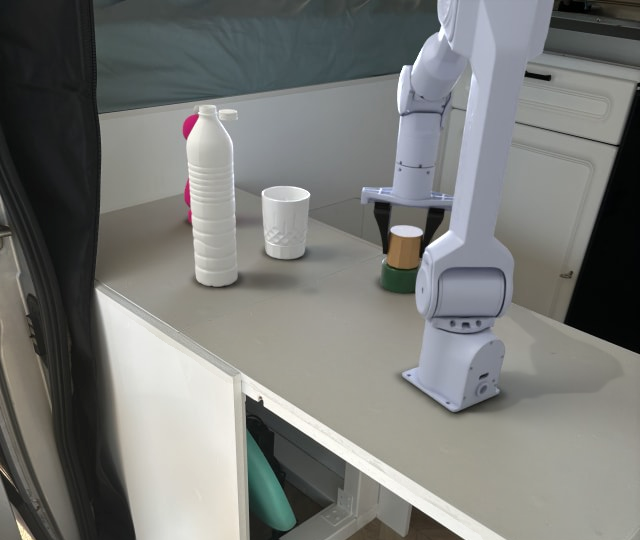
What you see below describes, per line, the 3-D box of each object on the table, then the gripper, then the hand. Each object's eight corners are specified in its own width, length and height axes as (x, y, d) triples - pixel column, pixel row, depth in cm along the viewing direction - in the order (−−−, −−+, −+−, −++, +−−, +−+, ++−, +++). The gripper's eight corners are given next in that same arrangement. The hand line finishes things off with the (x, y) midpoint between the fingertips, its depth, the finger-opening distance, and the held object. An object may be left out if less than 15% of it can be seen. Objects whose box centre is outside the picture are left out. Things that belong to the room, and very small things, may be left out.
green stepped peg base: (428, 287, 104) (434, 248, 100) (397, 296, 101) (402, 256, 97) (402, 273, 108) (407, 234, 104) (372, 281, 105) (375, 241, 101)
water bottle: (187, 277, 103) (173, 103, 88) (219, 266, 107) (211, 98, 92) (223, 296, 98) (214, 115, 83) (255, 284, 102) (252, 109, 87)
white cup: (302, 263, 109) (303, 203, 103) (256, 258, 110) (255, 198, 104) (312, 246, 115) (314, 188, 109) (268, 241, 116) (268, 183, 110)
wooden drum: (425, 264, 102) (430, 233, 99) (400, 271, 99) (404, 239, 96) (404, 253, 105) (408, 223, 102) (379, 259, 102) (382, 228, 99)
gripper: (466, 159, 95) (451, 249, 104) (368, 150, 97) (360, 239, 105) (467, 173, 90) (450, 266, 98) (362, 163, 91) (355, 256, 100)
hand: (403, 253), depth 101 cm, fingers closed on wooden drum, 5 cm apart
